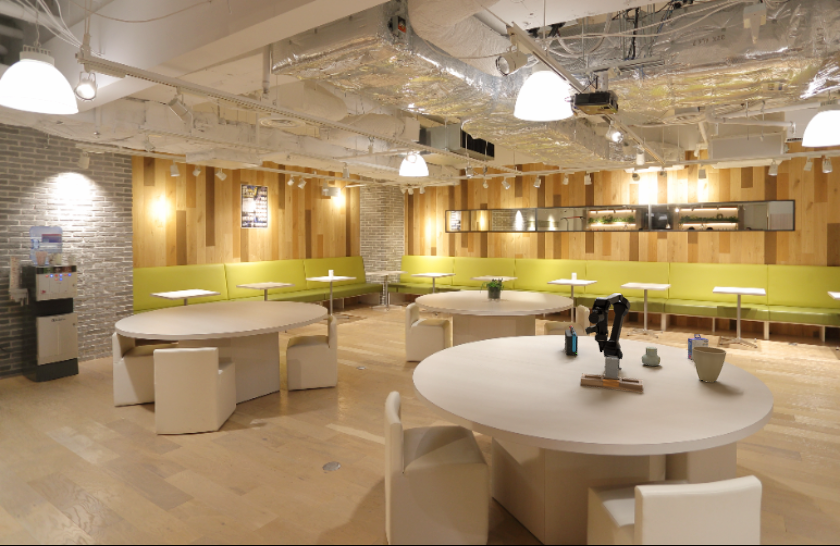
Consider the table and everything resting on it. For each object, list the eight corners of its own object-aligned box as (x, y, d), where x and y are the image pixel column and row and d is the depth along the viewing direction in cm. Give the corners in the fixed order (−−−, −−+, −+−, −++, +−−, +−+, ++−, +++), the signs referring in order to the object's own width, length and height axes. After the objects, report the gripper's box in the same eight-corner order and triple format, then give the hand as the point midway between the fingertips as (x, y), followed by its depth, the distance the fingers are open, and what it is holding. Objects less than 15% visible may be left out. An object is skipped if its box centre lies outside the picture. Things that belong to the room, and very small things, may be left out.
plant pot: (721, 386, 240) (722, 354, 238) (687, 380, 250) (689, 350, 248) (727, 379, 251) (729, 349, 249) (695, 374, 261) (696, 344, 259)
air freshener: (656, 368, 273) (657, 350, 272) (640, 365, 278) (641, 348, 277) (660, 364, 281) (661, 346, 281) (645, 361, 286) (646, 344, 286)
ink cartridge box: (703, 357, 295) (704, 333, 294) (708, 360, 289) (709, 335, 288) (686, 357, 295) (687, 333, 294) (691, 360, 289) (692, 335, 288)
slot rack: (582, 380, 252) (582, 372, 252) (641, 386, 241) (642, 378, 241) (580, 385, 243) (580, 378, 242) (642, 392, 232) (642, 384, 232)
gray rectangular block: (604, 382, 245) (605, 356, 243) (617, 383, 242) (618, 358, 241) (604, 384, 242) (605, 358, 241) (617, 385, 239) (618, 359, 238)
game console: (577, 357, 298) (578, 333, 296) (566, 356, 299) (567, 333, 298) (574, 346, 325) (574, 325, 324) (564, 346, 326) (564, 324, 325)
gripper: (587, 317, 271) (586, 345, 273) (584, 323, 254) (584, 352, 256) (608, 318, 267) (608, 346, 268) (607, 324, 250) (607, 354, 251)
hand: (601, 350), depth 261 cm, fingers open, 9 cm apart
